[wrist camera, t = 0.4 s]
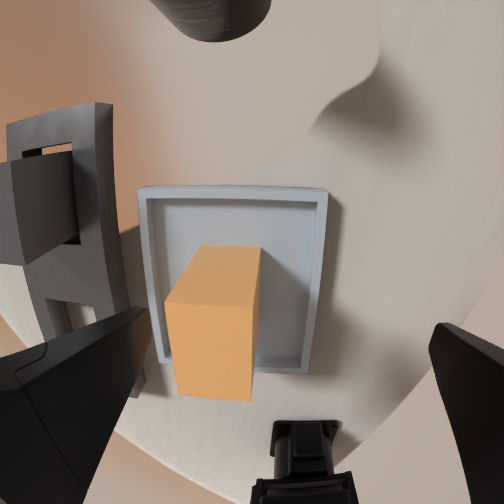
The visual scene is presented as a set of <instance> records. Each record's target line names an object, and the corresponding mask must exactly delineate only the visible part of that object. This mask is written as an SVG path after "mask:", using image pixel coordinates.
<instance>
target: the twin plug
mask: <svg viewBox="0 0 504 504" xmlns="http://www.w3.org/2000/svg"><path fill="white" fill-rule="evenodd" d="M79 233H80V232H79V225H78V217H77V208H76V199H75V188H74V174H73V156H72V151H65V152H58V153H53V154H46V155H40V156H34V157H29V158H23V159H18V160H13V161H8V162H4V163H0V263H1V264H10V265H19V266H27V265H28V264H30V263H31V262H33V261H34V260H36V259H38V258H39V257H41V256H42V255H44V254H46V253H47V252H49V251H51V250H52V249H54V248H56V247H57V246H59V245H61V244H62V243H64V242H66V241H67V240H69V239H71V238H72V237H74V236H76V235H78V234H79Z"/></svg>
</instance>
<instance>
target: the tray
mask: <svg viewBox="0 0 504 504" xmlns="http://www.w3.org/2000/svg"><path fill="white" fill-rule="evenodd" d="M137 196H138V212H139V225H140V236H141V246H142V256H143V264H144V273H145V281H146V288H147V295H148V302H149V309H150V315H151V321H152V327H153V333H154V339H155V344H156V350H157V355H158V360H159V363H163V364H170V365H173V360H172V354H171V347H170V341H169V334H168V327H167V320H166V313H165V305H164V302H165V300H166V299H167V297H168V295H169V294H170V292H171V291H172V289H173V288H174V286H175V285H176V283H177V281H178V280H179V278H180V277H181V275H182V274H183V272H184V271H185V269H186V268H187V266H188V265H189V263H190V262H191V260H192V259H193V257H194V256H195V254H196V253H197V251H198V250H199V248H200V247H201V245H224V246H251V247H261V266H260V299H259V326H258V336H257V346H256V356H255V366H254V372H258V373H283V374H307V373H308V367H309V361H310V354H311V348H312V341H313V334H314V327H315V320H316V312H317V305H318V297H319V288H320V280H321V271H322V261H323V251H324V241H325V230H326V218H327V205H328V192H327V191H326V190H325V189H318V188H299V187H276V186H242V185H163V186H162V185H158V186H144V187H142V188H139V189H137Z"/></svg>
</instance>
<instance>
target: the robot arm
mask: <svg viewBox="0 0 504 504" xmlns="http://www.w3.org/2000/svg"><path fill="white" fill-rule="evenodd" d="M151 335H152V331H151V323H150V315H149V311H148V309H147V308H144V307H137V306H136V307H132V308H130V309H127V310H125V311H122V312H120V313H117V314H115V315H112V316H110V317H107V318H105V319H102V320H100V321H97V322H95V323H92V324H90V325H87V326H85V327H82V328H80V329H77V330H75V331H72V332H69V333H67V334H64V335H62V336H59V337H57V338H54V339H52V340H49V341H48V342H44V343H41V344H39V345H36V346H34V347H31V348H28V349H26V350H23V351H20V352H17V353H14V354H11V355H8V356H4V357H1V358H0V504H83V502H84V499H85V497H86V494H87V490H88V489H89V486H90V484H91V481H92V479H93V477H94V474H95V472H96V469H97V467H98V465H99V462H100V460H101V458H102V455H103V453H104V451H105V448H106V446H107V444H108V441H109V439H110V437H111V435H112V432H113V430H114V428H115V426H116V423H117V421H118V419H119V417H120V415H121V412H122V410H123V408H124V406H125V404H126V401H127V399H128V397H129V395H130V393H131V391H132V389H133V386H134V384H135V382H136V380H137V378H138V375H139V372H140V369H141V366H142V363H143V360H144V357H145V354H146V351H147V348H148V345H149V343H150V340H151ZM429 355H430V358H431V362H432V366H433V369H434V373H435V377H436V381H437V385H438V388H439V391H440V394H441V397H442V400H443V403H444V406H445V409H446V411H447V415H448V418H449V421H450V424H451V427H452V430H453V434H454V437H455V440H456V444H457V447H458V451H459V454H460V458H461V462H462V465H463V469H464V473H465V477H466V482H467V486H468V490H469V495H470V500H471V504H504V349H502V348H500V347H498V346H496V345H494V344H492V343H489V342H488V341H486V340H483V339H481V338H479V337H477V336H475V335H473V334H471V333H469V332H467V331H465V330H463V329H461V328H459V327H457V326H455V325H452V324H450V323H438V324H437V325H436V326H435V329H434V332H433V335H432V337H431V340H430V343H429ZM337 429H338V422H337V421H275V422H274V423H273V429H272V438H271V447H270V456H272V457H275V465H274V479H263V478H262V479H257V481H256V485H254V486H253V487H252V494H251V501H250V504H359V502H358V497H357V493H356V489H355V485H354V481H353V477H352V473H351V471H348V472H345V473H339V474H334V469H333V460H332V451H331V446H332V443H333V440H334V437H335V435H336V432H337Z"/></svg>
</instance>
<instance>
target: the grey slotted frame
mask: <svg viewBox="0 0 504 504" xmlns="http://www.w3.org/2000/svg"><path fill="white" fill-rule="evenodd" d="M68 143H72V156H73V174H74V188H75V199H76V208H77V217H78V225H79V232H80V234H78V235H76V236H74V237H72V238H71V239H69V240H67V241H66V242H64V243H62V244H61V245H59V246H57V247H56V248H54V249H52V250H51V251H49V252H47V253H46V254H44V255H42V256H41V257H39V258H38V259H36V260H34V261H33V262H31V263H30V264H28V265H27V266H23V270H24V274H25V278H26V282H27V286H28V289H29V293H30V297H31V300H32V303H33V307H34V310H35V313H36V316H37V320H38V323H39V326H40V329H41V332H42V334H43V337H44V340H45V342H48V341H49V340H52V339H54V338H57V337H59V336H62V335H64V334H67V333H69V332H72V331H73V330H72V327H71V324H70V320H69V317H68V313H67V310H66V306H65V302H64V301H66V302H73V303H80V304H87V305H93V308H94V312H95V316H96V320H97V321H100V320H102V319H105V318H107V317H110V316H112V315H115V314H117V313H120V312H122V311H125V310H127V309H130V306H129V300H128V295H127V289H126V282H125V276H124V269H123V262H122V255H121V247H120V238H119V229H118V220H117V210H116V196H115V182H114V162H113V105H112V104H105V103H98V102H93V103H87V104H83V105H78V106H73V107H69V108H65V109H60V110H56V111H52V112H49V113H45V114H41V115H37V116H34V117H30V118H27V119H24V120H20V121H17V122H14V123H11V124H8V125H7V159H8V161H13V160H18V159H23V158H29V157H34V156H40V155H42V148H45V147H51V146H55V145H62V144H68ZM145 382H146V379H145V375H144V371H143V367H142V366H141V369H140V372H139V375H138V378H137V380H136V382H135V384H134V386H133V389H132V391H131V393H130V395H129V397H132V398H138V396H139V394H140V392H141V390H142V388H143V386H144V384H145Z"/></svg>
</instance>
